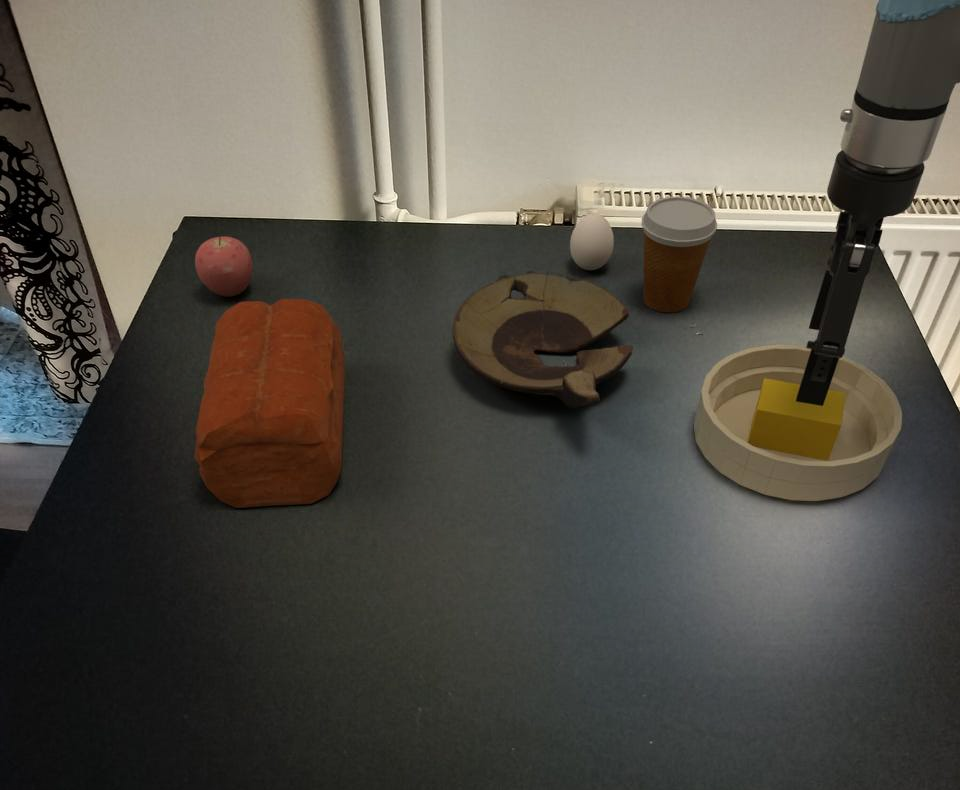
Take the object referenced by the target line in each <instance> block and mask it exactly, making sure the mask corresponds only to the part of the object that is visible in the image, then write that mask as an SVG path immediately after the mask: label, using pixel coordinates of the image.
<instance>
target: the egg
mask: <svg viewBox="0 0 960 790" xmlns="http://www.w3.org/2000/svg"><path fill="white" fill-rule="evenodd" d="M614 244H615V236H614V232H613V229H612V226H611V225H610V223H609V221H608V219H607V218H606V217H604V216H603V215H601V214H599V213H595V212H593V213H589V214H586V215H584V216H583V217H582V218H580V220H579V221H578V222H577V223H576V225H575V226H574V229H573V230H572V233H571V236H570V241H569V250H570V255H571V258H572V260H573V261H574V263H575V265H577V266H578V267H579V268H581V269H583V270H585V271H596V270H599V269H600V268H602V267H603V266H604V265H606V263H608V261H609V260H610V258H611V257H612V254H613V251H614V247H615V246H614Z"/></svg>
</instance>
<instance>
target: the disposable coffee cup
mask: <svg viewBox="0 0 960 790" xmlns="http://www.w3.org/2000/svg"><path fill="white" fill-rule="evenodd" d="M641 226H642V230H643V280H642V281H643V283H642V284H643V285H642V287H643V289H642V291H643V293H642V299H643V302H644V304H645V305H646V306H647V307H648V308H649V309H651V310H654V311H656V312H661V313H677V312H681V311H683V310H685V309H686V308H687V307H688V306H689V305H690V302H691V299H692V296H693V292H694V290H695V287H696V284H697V281H698V278H699V275H700V271H701V269H702V266H703V263H704V260H705V257H706V253H707V250H708V247H709V244H710V241H711V239H712V237H713V236H714V234H715V233H716V231H717V229H718V221H717V220H716V211H715V210H714V209H713V207H712V206H711V205H709V204H708V203H706V202H705V201H702V200H699V199H696V198H692V197H687V196H667V197H662V198H659V199H656V200H654V201H653V202H651V203H650V204H649V205H648V207H647V208H646V210H645V213H644V214H643V215H642V217H641Z"/></svg>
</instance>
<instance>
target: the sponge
mask: <svg viewBox="0 0 960 790" xmlns="http://www.w3.org/2000/svg"><path fill="white" fill-rule="evenodd" d="M799 388H800V385H799V384H794V383H788V382H783V381H777V380H771V379H766V378H764V381H763V384H762V388H761V391H760V395H759V398H758V402H757V405H756V409H755V412H754V416H753V421H752V425H751V430H750V434H749V439H748V443H749V444H750V445H752V446H754V447H760V448H765V449H770V450H775V451H780V452H785V453H790V454H795V455H800V456H806V457H811V458H816V459H821V460H826V461H828V459H829V457H830V454H831V452H832V449H833V446H834V444H835V441H836V439H837V436H838V433H839V431H840V428H841V426H842V418H843V410H844V402H845V394H846V393H844V392H838V391H833V390H828V393H827V396H826V399H825V402H824V404H823V406H820V405H814V404H808V403H802V402H796V397H797V394H798V391H799Z"/></svg>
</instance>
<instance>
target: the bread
mask: <svg viewBox="0 0 960 790" xmlns="http://www.w3.org/2000/svg"><path fill="white" fill-rule="evenodd" d="M345 357H346V355H345V352H344V348H343V342H342V336H341V329H340V327H339V326H338V325H337V324H336V323H335V322H334V321H333V319H332V316H330V314H329V312H328V311H327V310H326V308H325V307H324V306H323V305H322V304H319V303H316V302H314V301H310V300H307V299H304V298H295V299H294V298H281V299H279V300H278V301H276V302H274V303H273V304H271V305H270V304H268V303H266V302H264V301H262V300H254V301H253V300H252V301H240V302H238V303H236V304H235V305H233V306H232V307H230V308H229V309H227V310H225V311H224V313H223V314H222V315H221V316H220V318H219V319H218V320H217V322H216V323H215V324H214V337H213V340H212V344H211V349H210V356H209V362H208V368H207V372H206V374H205V377H204V379H203V382H202V383H203V388H204V391H203V396H202V397H201V400H200V405H199V413H198V417H197V418H198V419H197V423H196V428H195V436H196V439H195V448H194V456H193V459H194V460H195V462H197V464H198V465H199V468H198V473H199V475H200V477H201V479H202V481H203V483H204V485H205V487H206V488H207V490H209V491H210V492H211V494H212V495H214V496H215V497H216V498H217V499H218V500H219V501H220V502H222V503H224V504H226V505H227V506H228V505H229V506H231V507H233V508H236V509H241V508H255V507H269V506H287V505H288V506H290V505H307V504H308V505H311V504H314V503H315V502H317V501H320V500H321V499H323V498H325V497H327V496H329V495H330V494H331V492H332V491H333V489H334V487H335V486H336V484H337V482H338V479H339V477H340V475H341V471H342V468H343V441H344V414H345V413H344V412H345V386H346V359H345Z"/></svg>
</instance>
